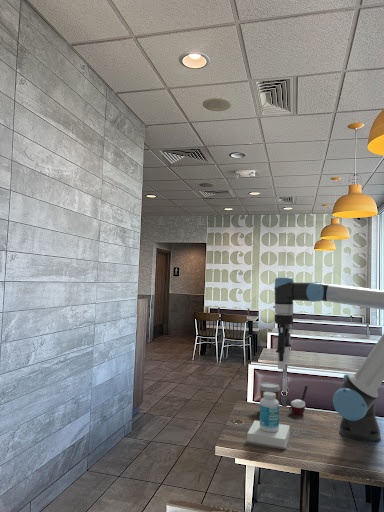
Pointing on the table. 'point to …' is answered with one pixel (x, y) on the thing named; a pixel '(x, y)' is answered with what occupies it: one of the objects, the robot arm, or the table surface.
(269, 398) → the pill bottle
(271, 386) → the disposable coffee cup
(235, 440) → the table surface
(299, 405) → the cocoa
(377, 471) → the table surface
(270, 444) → the block
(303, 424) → the table surface
